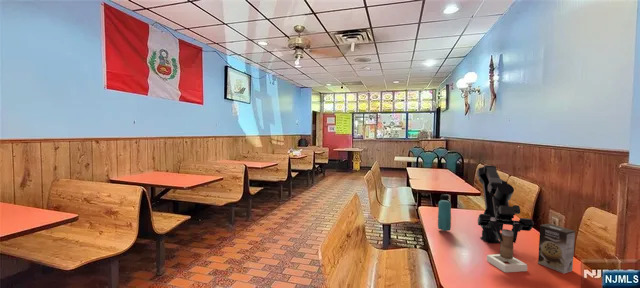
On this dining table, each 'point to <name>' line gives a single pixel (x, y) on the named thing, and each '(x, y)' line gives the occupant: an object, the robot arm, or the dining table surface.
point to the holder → (512, 267)
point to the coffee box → (556, 247)
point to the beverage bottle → (444, 213)
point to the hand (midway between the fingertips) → (508, 241)
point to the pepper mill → (507, 244)
